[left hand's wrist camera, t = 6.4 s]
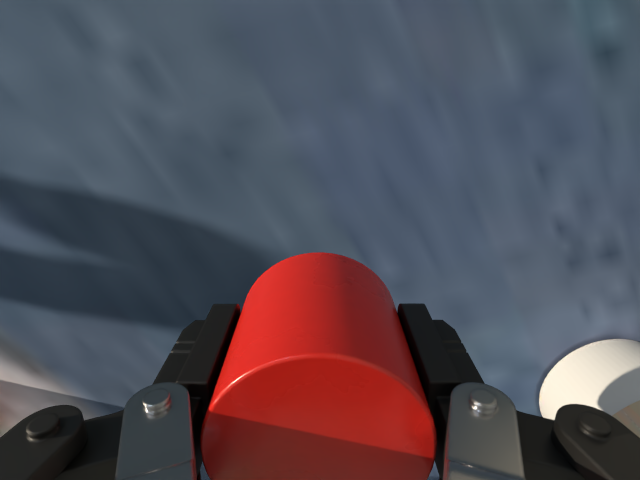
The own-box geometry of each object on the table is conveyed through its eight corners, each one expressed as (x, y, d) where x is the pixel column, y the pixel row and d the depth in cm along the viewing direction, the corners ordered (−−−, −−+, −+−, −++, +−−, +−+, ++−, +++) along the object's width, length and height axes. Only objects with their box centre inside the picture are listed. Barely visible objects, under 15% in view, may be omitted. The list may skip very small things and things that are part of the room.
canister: (221, 353, 13) (168, 496, 9) (277, 226, 12) (250, 317, 7) (353, 401, 14) (370, 558, 9) (423, 288, 12) (485, 408, 8)
